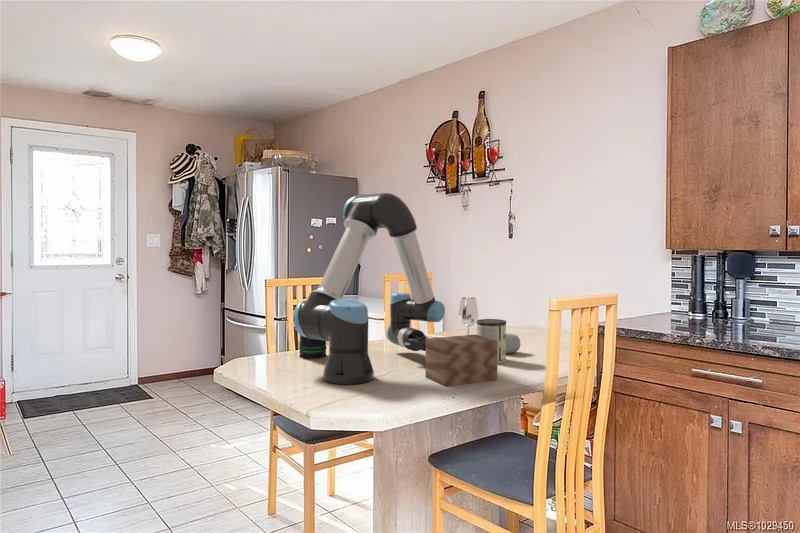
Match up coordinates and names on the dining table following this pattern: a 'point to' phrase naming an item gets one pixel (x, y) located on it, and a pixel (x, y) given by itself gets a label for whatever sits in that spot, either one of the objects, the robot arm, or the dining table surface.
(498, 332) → the coffee can
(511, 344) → the ceramic mug
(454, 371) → the block
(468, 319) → the wineglass
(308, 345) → the storage jar
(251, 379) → the dining table surface
